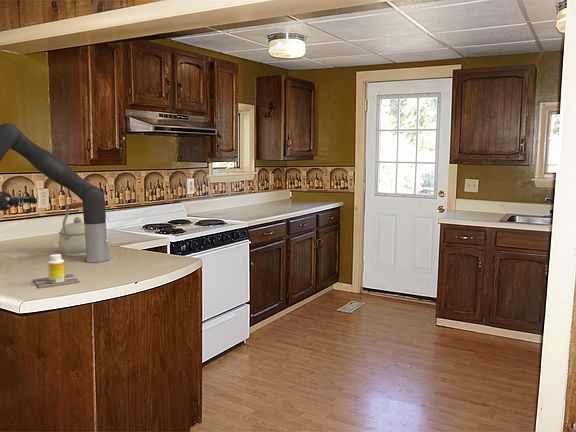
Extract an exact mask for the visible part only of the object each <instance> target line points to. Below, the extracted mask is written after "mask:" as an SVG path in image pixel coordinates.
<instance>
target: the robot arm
mask: <svg viewBox="0 0 576 432" xmlns="http://www.w3.org/2000/svg"><path fill="white" fill-rule="evenodd" d="M10 149H11V150H12V151H14V152H16V153H17V154H19V155H20V156H22V157H23V158H24V159H25V160H27V162H29V163H30V165H32V166H33V167H34V168H35V169H36V170H37V171H39V172H40V173H41V174H43V175H44V176H45V177H47V178H48V179H49V180H51V181H53V182H54V183H56V184H57V185H60V186H62V187H63V188H66V189H67V190H69V191H71V192H72V193H73V194H74V195H75V196H76V197H78V198H79V199H80V201H82V202H83V207H82V211H83V212H82V213H83V214H82V215H83V222H84V229H85V245H86V255H85V257H86V260H85V261H86V262H87V263H102V262H106V261H110V247H109V239H108V235H107V218H106V217H107V216H106V215H107V214H106V197H105V194H104V192H103V190H102V189H101V188H99V187H97V186H95V185H93V184H91V183H89V181H86V180H85V179H84V178H82V177H81V176H80V175H78V173H76V171H74V170H73V169H72V168H71V167H70V166H69V165H68V164H67V163H65V162H64V161H62V159H60V158H59V157H57V156H56V155H55V154H53V153H51V152H50V151H48V150H47V149H45V148H43V147H41V146H39V145H38V144H36V143H34V142H33V141H32V140H31V139H30V138H28V137H27V135H25V134H24V133H23V132H22V131H21V130H20V129H19V128H18V127H17V126H16V125H14V124H13V123H10V122H8V123H7V122H6V123H2V124H1V123H0V163H1V162H2V160H3V158H4V157H5V155H6V154H7V152H8V151H9V150H10ZM25 204H27V205H30V204H38V199H37V197H33V196H16V195H11V194H10V193H8V192H6V191H0V212H1V211H2V212H5V211H8V210H10V209H11V208H12V207H18V206H25Z"/></svg>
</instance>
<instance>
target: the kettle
mask: <svg viewBox="0 0 576 432" xmlns="http://www.w3.org/2000/svg"><path fill="white" fill-rule="evenodd" d="M79 208H83V201H82V202H81V201H78V202H73V203H71V204H70V203H67V204H65V210H66V211H65V214H64V218H63V220H62V227H61V229H60V231H59V232H58V235H59V237H58V247H59V249H60V250H61V252H63V255H65V256H66V257H83V256H86V245H85V229H84V221H83V218H81V217H78V216H76V217H75V218H73V222H70V223H67V219H68V217H69V214H70V210H71V209H72V210H73V209H79ZM66 223H67V224H66Z"/></svg>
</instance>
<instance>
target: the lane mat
mask: <svg viewBox="0 0 576 432" xmlns="http://www.w3.org/2000/svg"><path fill="white" fill-rule="evenodd" d="M32 282H33V283H34V284H35V285H36V286H37V288H38V289H45V288H52V287H57V286H59V285H60V286H65V284H66V285H72V283H73V284H80V283H81V281H80V280H79V279H78V278H77V277H75V275H73V273H70V274H65V281H64V282H61V283H50V282H49V276H47V277H42V278H33V279H32ZM79 282H80V283H79Z"/></svg>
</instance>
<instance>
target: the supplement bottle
mask: <svg viewBox="0 0 576 432" xmlns="http://www.w3.org/2000/svg"><path fill="white" fill-rule="evenodd" d="M47 271H48V277H49V282H50V283H61V282H64V281H65V275H66V272H65V271H66V270H65V260H64V259H62V254H60V253H57V254H55V253H54V254H50V255H49V260H48V261H47Z"/></svg>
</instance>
